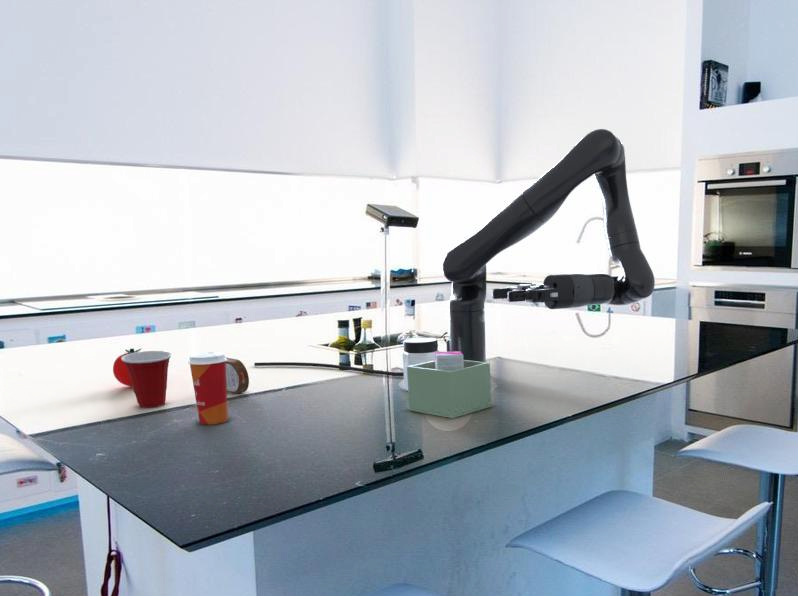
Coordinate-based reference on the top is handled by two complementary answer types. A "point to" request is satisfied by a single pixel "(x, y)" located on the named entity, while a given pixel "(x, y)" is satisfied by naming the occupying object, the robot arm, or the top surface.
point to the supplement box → (449, 361)
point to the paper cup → (210, 386)
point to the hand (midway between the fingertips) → (500, 295)
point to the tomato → (122, 369)
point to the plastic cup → (148, 376)
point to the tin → (236, 376)
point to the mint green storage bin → (449, 389)
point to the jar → (418, 353)
